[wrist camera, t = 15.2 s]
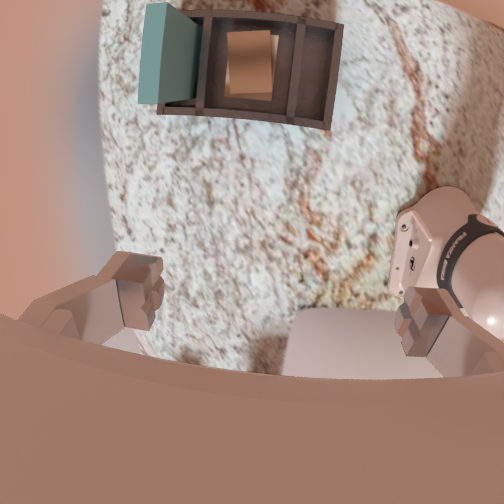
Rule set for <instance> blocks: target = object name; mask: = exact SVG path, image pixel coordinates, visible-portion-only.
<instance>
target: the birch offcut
mask: <svg viewBox="0 0 504 504" xmlns="http://www.w3.org/2000/svg"><path fill="white" fill-rule="evenodd" d="M278 39H279V36H278V35H270V41H271V65H272V91H273V83H274V74H275V65H276V57H277V48H278ZM224 97H233V98H245V99H256V100H265V101H271V100H272V92H268V93H240V94H230V82H229V62H228V61H227V71H226V81H225V92H224Z"/></svg>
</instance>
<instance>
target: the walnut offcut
mask: <svg viewBox="0 0 504 504" xmlns="http://www.w3.org/2000/svg"><path fill="white" fill-rule="evenodd" d="M227 40H228V62H229V82H230V94H240V93H268V92H272V65H271V41H270V30H264V31H242V32H228V33H227Z"/></svg>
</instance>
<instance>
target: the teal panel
mask: <svg viewBox="0 0 504 504" xmlns="http://www.w3.org/2000/svg"><path fill="white" fill-rule="evenodd" d="M202 33H203V29H202V28H201V27H200V26H199V25H197V24H196V23H195V22H193V21H192V20H191V19H189V18H188V17H187V16H185V15H184V14H183V13H181V12H180V11H179V10H177V9H176V8H175V7H173V6H172V5H170V4H169V3H168V2H166V3H155V4H147V6H146V13H145V21H144V29H143V39H142V49H141V60H140V73H139V89H138V104H160V103H166V102H173V101H179V100H186V99H194V98H196V96H197V84H198V72H199V62H200V51H201V42H202Z"/></svg>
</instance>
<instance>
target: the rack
mask: <svg viewBox="0 0 504 504" xmlns="http://www.w3.org/2000/svg"><path fill="white" fill-rule="evenodd" d="M180 12H181V13H183V14H184V15H185V16H187V17H188V18H189V19H191V20H192V21H193V22H195V23H196V24H197V25H199V26H200V27H201V28H202V29H203V33H202V42H201V51H200V62H199V72H198V84H197V96H196V98H194V99H186V100H179V101H173V102H166V103H160V104H158V105H157V115H193V116H211V117H226V118H238V119H249V120H258V121H267V122H275V123H283V124H291V125H298V126H304V127H311V128H317V129H323V130H329V131H330V128H331V122H332V115H333V108H334V101H335V94H336V87H337V80H338V72H339V64H340V56H341V47H342V39H343V29H344V24H339V23H334V22H329V21H324V20H319V19H313V18H307V17H300V16H293V15H285V14H276V13H266V12H254V11H236V10H184V11H180ZM264 30H270V35H278V36H279V39H278V48H277V57H276V65H275V74H274V83H273V91H272V100H271V101H265V100H256V99H245V98H233V97H224V92H225V81H226V71H227V61H228V40H227V33H228V32H242V31H264Z"/></svg>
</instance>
